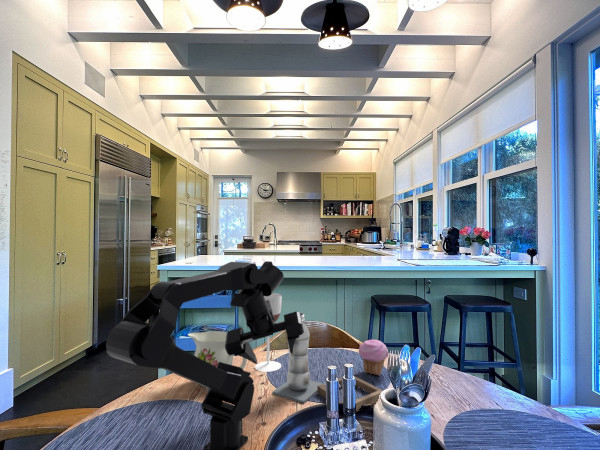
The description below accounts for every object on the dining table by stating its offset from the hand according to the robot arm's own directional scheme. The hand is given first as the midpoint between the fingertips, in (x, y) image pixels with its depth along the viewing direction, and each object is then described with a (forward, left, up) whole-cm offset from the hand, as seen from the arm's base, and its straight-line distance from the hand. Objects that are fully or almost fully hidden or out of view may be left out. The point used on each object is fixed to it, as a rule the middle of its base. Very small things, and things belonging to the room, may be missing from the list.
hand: (274, 357), depth 78 cm
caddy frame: (+12, -16, -12) cm, 23 cm away
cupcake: (+29, -19, -12) cm, 37 cm away
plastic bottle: (+10, -2, -11) cm, 15 cm away
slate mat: (+10, -2, -12) cm, 16 cm away
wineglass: (+21, +14, -12) cm, 28 cm away
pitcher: (+5, +22, -12) cm, 25 cm away
